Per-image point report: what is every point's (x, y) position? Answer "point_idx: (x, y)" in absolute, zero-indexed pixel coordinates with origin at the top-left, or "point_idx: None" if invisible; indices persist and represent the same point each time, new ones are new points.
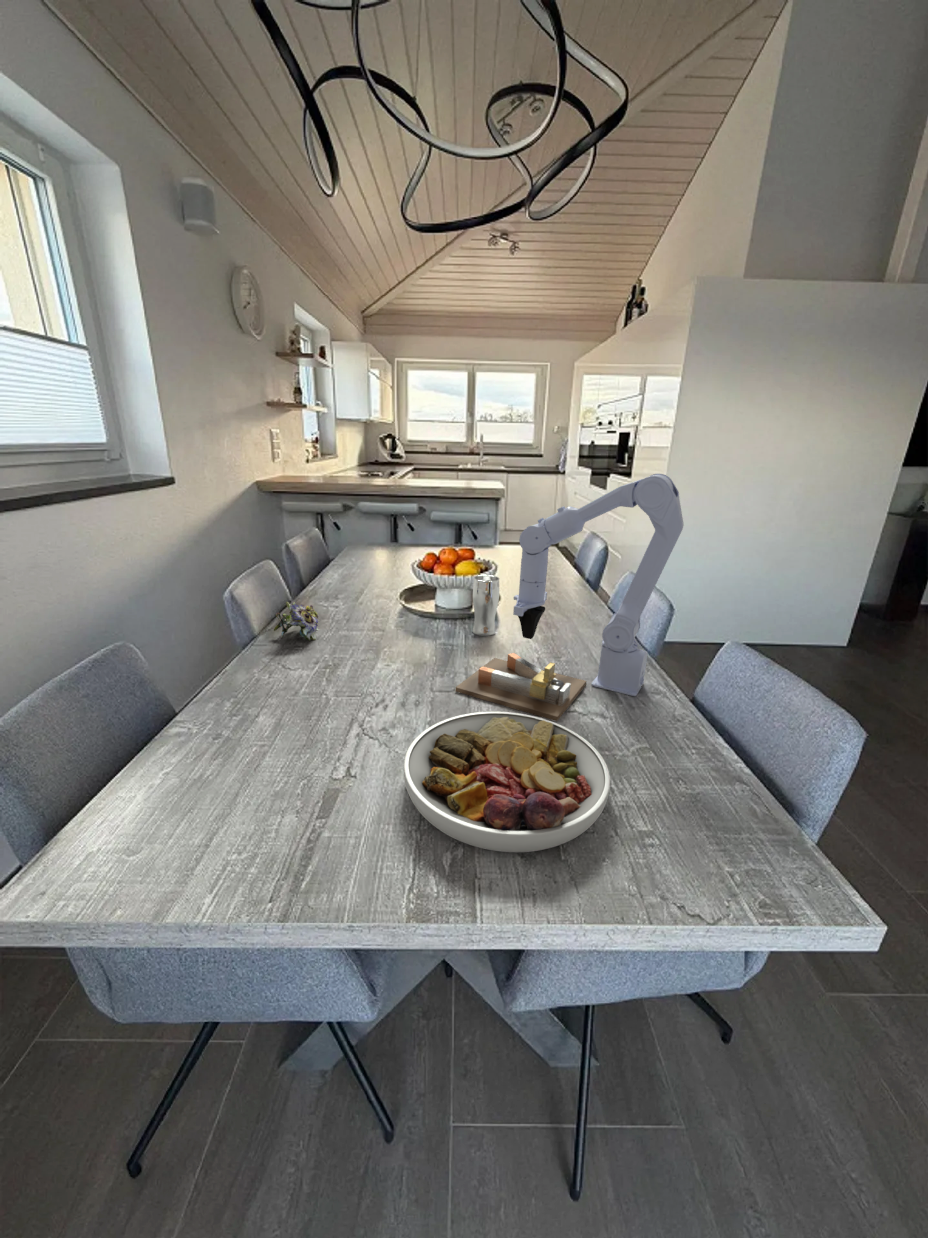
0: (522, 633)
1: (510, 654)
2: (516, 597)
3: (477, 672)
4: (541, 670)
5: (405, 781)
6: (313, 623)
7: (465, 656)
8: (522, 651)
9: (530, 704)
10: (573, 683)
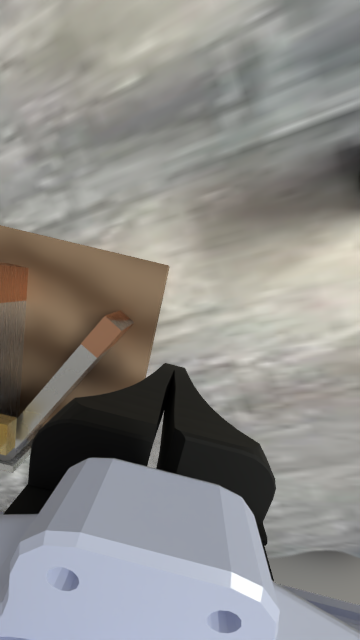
0: (160, 367)
1: (105, 323)
2: (13, 597)
3: (62, 245)
4: (5, 424)
5: None
6: None
7: (176, 176)
8: (261, 323)
9: None
10: None
